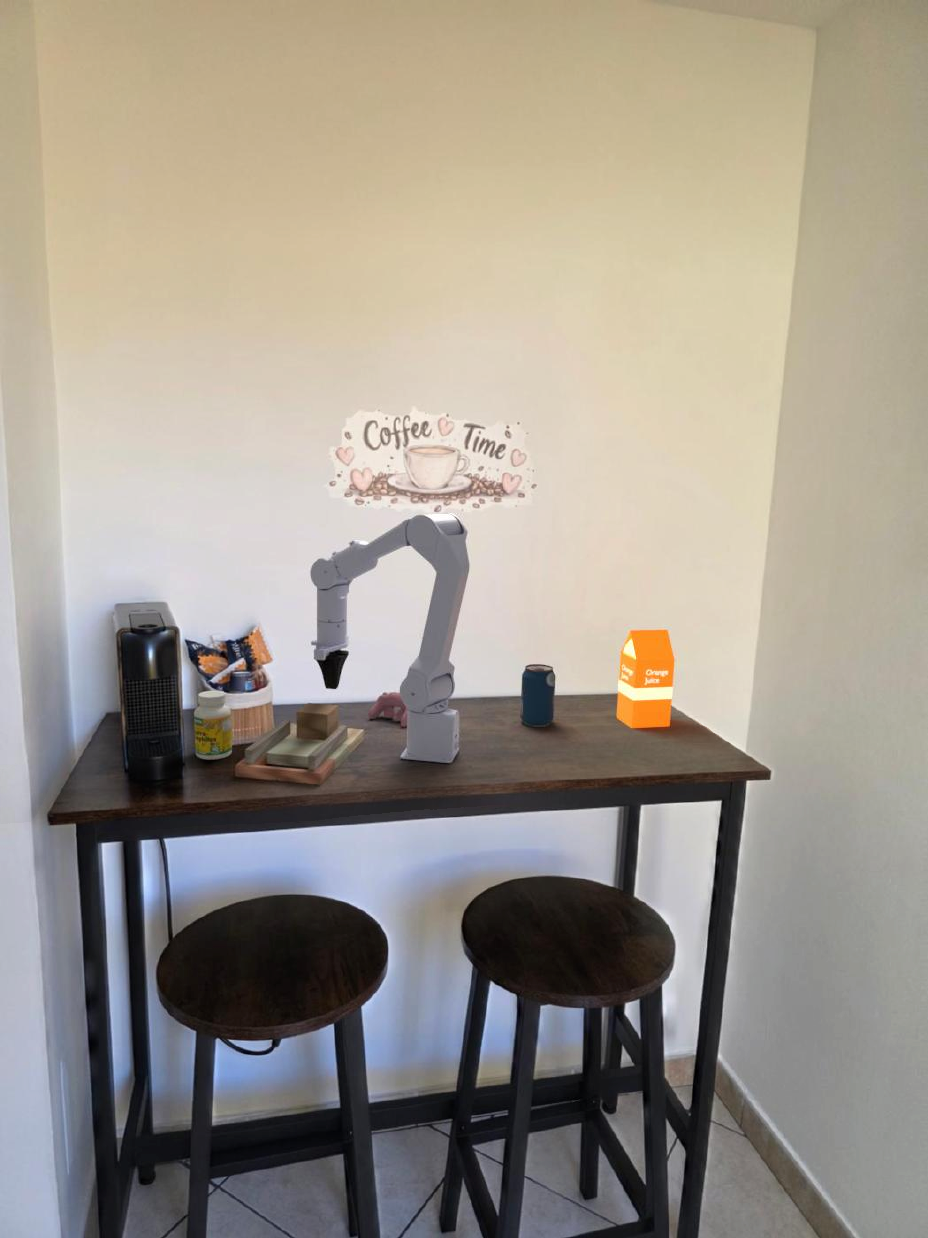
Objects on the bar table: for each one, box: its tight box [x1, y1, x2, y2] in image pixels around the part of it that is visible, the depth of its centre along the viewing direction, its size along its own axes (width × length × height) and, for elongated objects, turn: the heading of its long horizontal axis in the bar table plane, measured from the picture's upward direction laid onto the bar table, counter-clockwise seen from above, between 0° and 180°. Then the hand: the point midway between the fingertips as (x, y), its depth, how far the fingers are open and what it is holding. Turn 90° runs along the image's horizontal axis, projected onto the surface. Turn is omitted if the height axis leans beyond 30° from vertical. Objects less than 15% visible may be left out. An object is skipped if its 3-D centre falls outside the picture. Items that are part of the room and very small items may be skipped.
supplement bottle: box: [193, 690, 233, 761], centre depth 148 cm, size 6×6×11 cm
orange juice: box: [616, 629, 676, 729], centre depth 175 cm, size 8×9×20 cm
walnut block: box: [295, 702, 339, 740], centre depth 156 cm, size 6×6×5 cm
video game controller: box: [368, 691, 407, 728], centre depth 172 cm, size 10×5×7 cm, turn 58°
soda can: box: [519, 663, 556, 728], centre depth 173 cm, size 7×7×12 cm
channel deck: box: [234, 720, 365, 786], centre depth 149 cm, size 15×24×4 cm, turn 170°
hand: (331, 688), depth 163 cm, fingers closed
